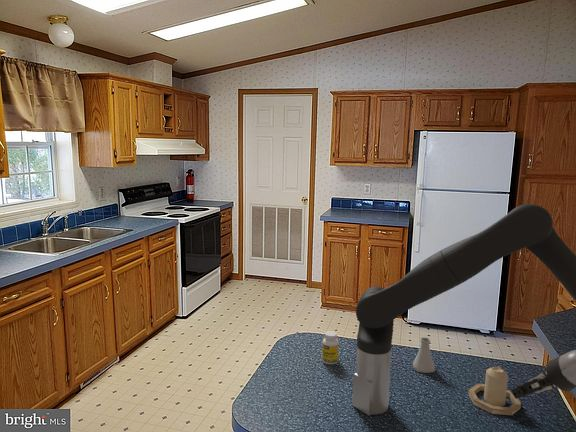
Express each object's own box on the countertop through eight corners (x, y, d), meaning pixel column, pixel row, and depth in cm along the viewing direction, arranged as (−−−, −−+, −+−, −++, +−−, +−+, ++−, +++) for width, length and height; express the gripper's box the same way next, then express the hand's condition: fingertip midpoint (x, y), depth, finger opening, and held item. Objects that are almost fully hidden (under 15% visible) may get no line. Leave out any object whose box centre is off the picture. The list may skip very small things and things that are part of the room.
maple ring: (505, 420, 112) (506, 415, 111) (461, 398, 121) (462, 393, 121) (526, 403, 119) (527, 398, 119) (483, 384, 129) (483, 379, 128)
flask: (438, 374, 134) (440, 344, 133) (415, 373, 134) (417, 344, 133) (431, 362, 142) (433, 334, 140) (409, 362, 142) (411, 334, 140)
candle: (486, 393, 124) (489, 361, 122) (507, 400, 120) (510, 367, 119) (481, 402, 120) (484, 369, 118) (502, 409, 116) (505, 375, 115)
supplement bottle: (320, 363, 140) (320, 335, 139) (323, 355, 146) (324, 329, 144) (336, 366, 139) (337, 337, 137) (339, 358, 144) (340, 331, 142)
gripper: (581, 348, 105) (532, 370, 117) (545, 361, 99) (498, 382, 111) (602, 378, 101) (550, 397, 113) (566, 393, 95) (515, 412, 107)
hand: (524, 390), depth 112 cm, fingers open, 8 cm apart
